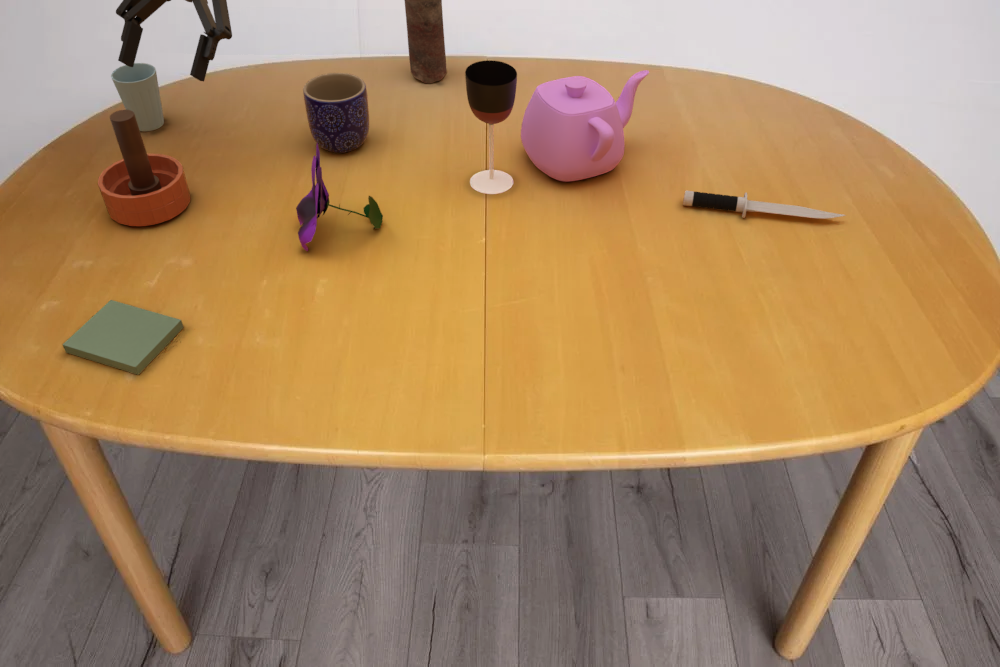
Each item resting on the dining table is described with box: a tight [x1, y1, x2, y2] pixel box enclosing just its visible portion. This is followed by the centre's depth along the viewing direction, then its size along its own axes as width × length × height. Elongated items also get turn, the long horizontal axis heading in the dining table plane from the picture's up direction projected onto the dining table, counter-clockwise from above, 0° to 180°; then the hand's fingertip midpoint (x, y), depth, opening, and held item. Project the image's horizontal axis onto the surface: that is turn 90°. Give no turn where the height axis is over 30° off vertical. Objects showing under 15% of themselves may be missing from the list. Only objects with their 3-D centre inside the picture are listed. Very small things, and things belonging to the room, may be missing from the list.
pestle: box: [109, 109, 162, 196], centre depth 139 cm, size 5×5×16 cm
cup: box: [110, 62, 165, 132], centre depth 160 cm, size 8×8×10 cm
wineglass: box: [464, 59, 518, 195], centre depth 143 cm, size 8×9×20 cm
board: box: [61, 299, 185, 376], centre depth 120 cm, size 12×10×2 cm
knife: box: [682, 190, 847, 219], centre depth 143 cm, size 26×2×5 cm
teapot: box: [520, 69, 650, 182], centre depth 150 cm, size 23×21×15 cm
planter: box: [302, 72, 370, 154], centre depth 155 cm, size 11×11×11 cm
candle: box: [403, 0, 448, 84], centre depth 172 cm, size 8×7×20 cm
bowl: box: [97, 152, 191, 227], centre depth 142 cm, size 13×13×6 cm
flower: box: [295, 143, 384, 252], centre depth 136 cm, size 15×15×14 cm
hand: (160, 71), depth 139 cm, fingers open, 13 cm apart
